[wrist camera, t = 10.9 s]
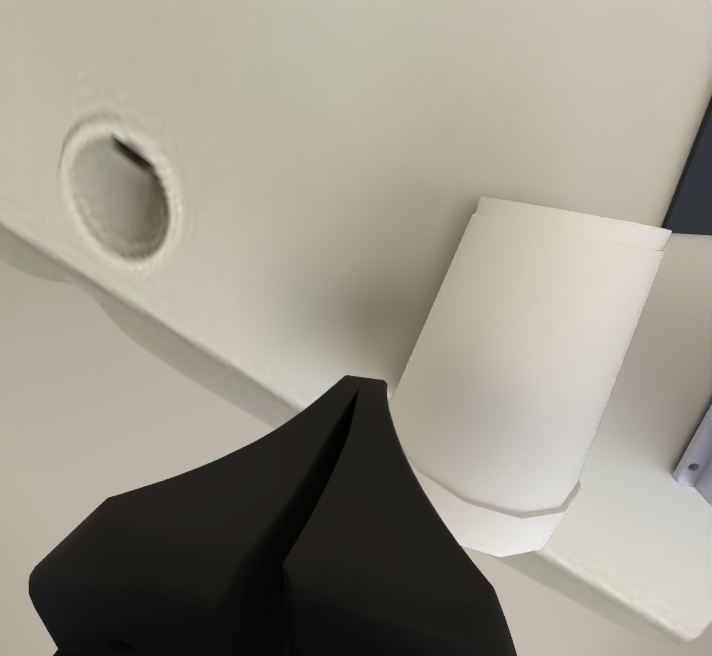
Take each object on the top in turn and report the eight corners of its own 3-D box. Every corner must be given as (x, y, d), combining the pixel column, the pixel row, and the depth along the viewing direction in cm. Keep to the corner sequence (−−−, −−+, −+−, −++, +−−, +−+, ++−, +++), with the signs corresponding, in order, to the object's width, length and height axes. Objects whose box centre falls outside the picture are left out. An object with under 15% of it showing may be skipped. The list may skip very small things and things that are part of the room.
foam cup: (661, 223, 6) (462, 598, 12) (781, 251, 11) (597, 513, 16) (396, 181, 14) (347, 422, 19) (531, 208, 18) (462, 397, 24)
